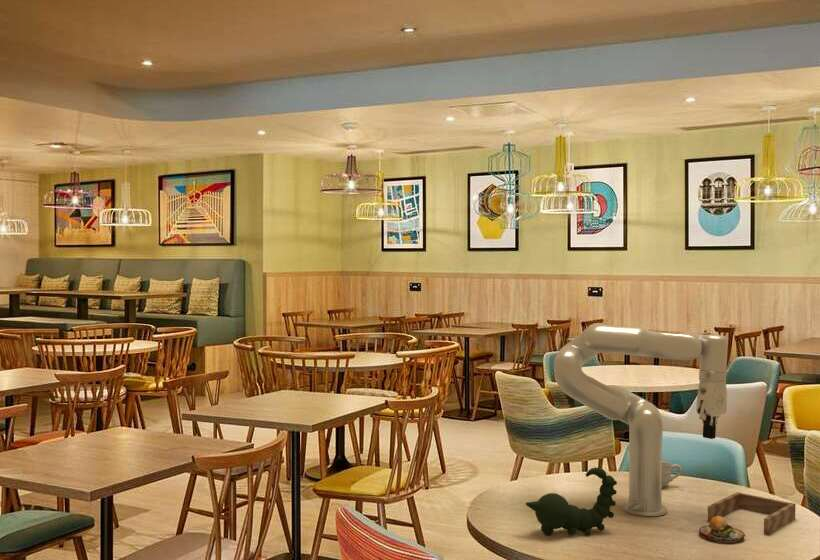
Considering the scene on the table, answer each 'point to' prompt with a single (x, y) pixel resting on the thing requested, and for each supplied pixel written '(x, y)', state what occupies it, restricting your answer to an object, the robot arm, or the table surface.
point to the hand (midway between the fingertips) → (708, 437)
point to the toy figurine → (575, 509)
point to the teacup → (669, 472)
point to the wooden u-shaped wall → (756, 509)
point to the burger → (721, 532)
